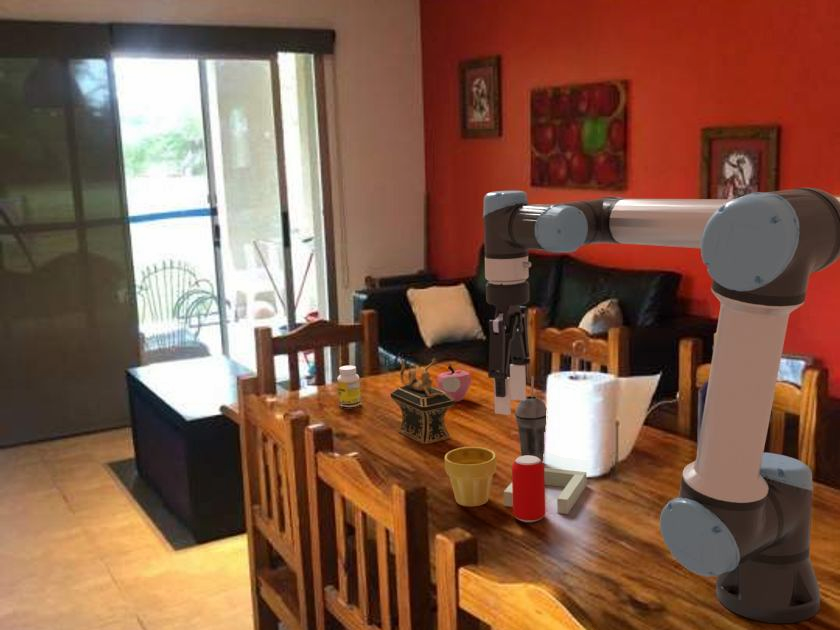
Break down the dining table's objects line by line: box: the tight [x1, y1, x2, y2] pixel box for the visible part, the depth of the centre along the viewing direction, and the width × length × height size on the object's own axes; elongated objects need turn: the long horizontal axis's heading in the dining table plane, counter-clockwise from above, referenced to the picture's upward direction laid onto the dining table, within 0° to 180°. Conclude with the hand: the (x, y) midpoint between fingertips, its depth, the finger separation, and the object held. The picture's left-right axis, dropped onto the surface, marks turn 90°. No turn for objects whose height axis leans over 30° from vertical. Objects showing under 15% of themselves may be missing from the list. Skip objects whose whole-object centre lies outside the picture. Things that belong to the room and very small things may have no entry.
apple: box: [437, 364, 472, 403], centre depth 251 cm, size 10×9×10 cm
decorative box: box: [390, 356, 456, 445], centre depth 224 cm, size 20×10×20 cm, turn 31°
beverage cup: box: [514, 375, 548, 462], centre depth 200 cm, size 7×7×20 cm
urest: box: [503, 467, 588, 515], centre depth 183 cm, size 15×13×3 cm
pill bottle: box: [336, 365, 362, 407], centre depth 251 cm, size 6×6×11 cm
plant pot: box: [444, 446, 497, 508], centre depth 182 cm, size 10×10×10 cm
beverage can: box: [511, 455, 546, 523], centre depth 172 cm, size 6×6×12 cm
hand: (510, 406), depth 160 cm, fingers open, 8 cm apart
